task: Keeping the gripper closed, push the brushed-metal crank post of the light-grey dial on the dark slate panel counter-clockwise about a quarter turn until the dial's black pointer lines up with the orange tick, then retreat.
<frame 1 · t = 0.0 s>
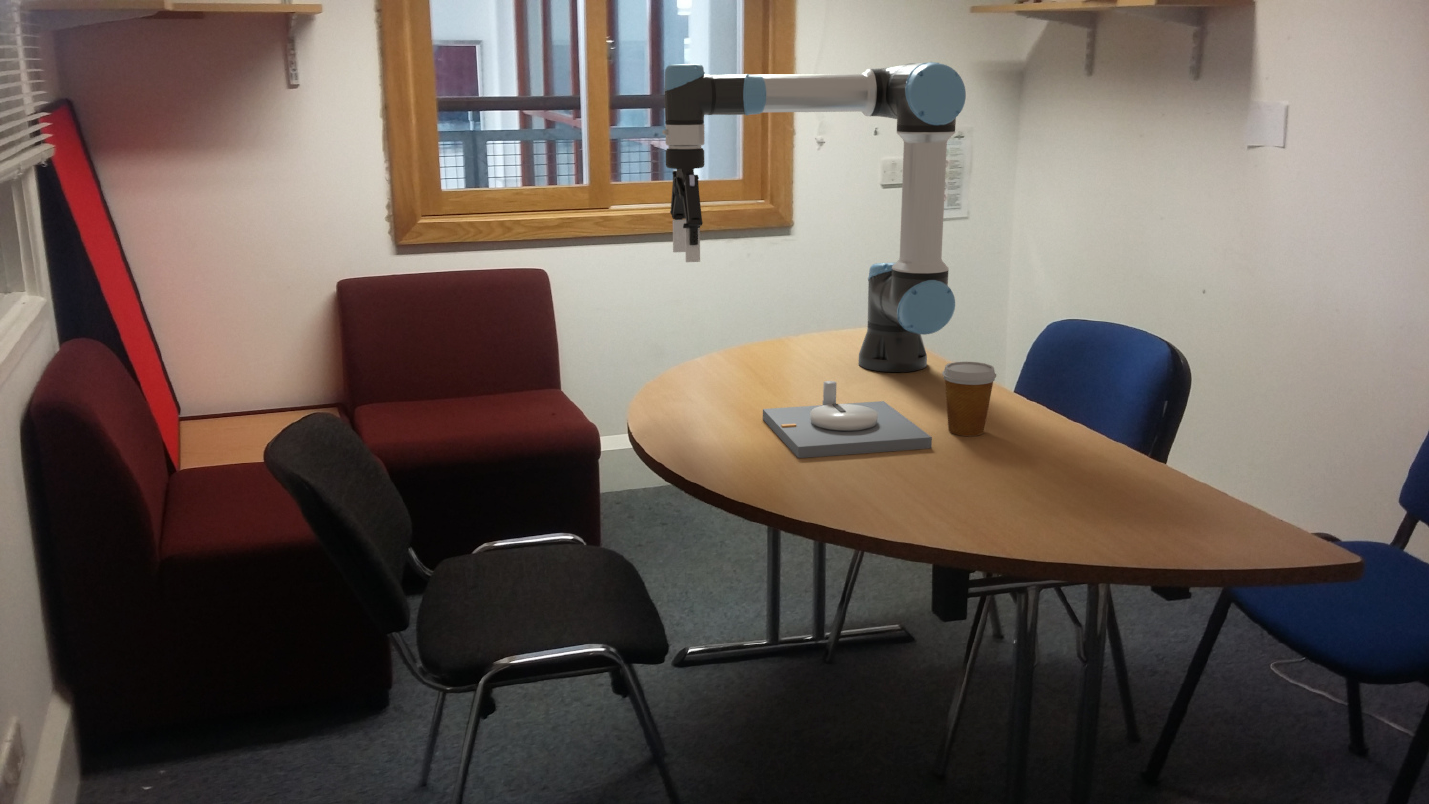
hand: (686, 256, 230), 28 cm above the table, fingers open, 13 cm apart
panel: (843, 433, 211), on the table
dial: (840, 404, 211), point 5 cm above the table, hinge at 0.0°
disposable coffee cup: (966, 432, 211), on the table
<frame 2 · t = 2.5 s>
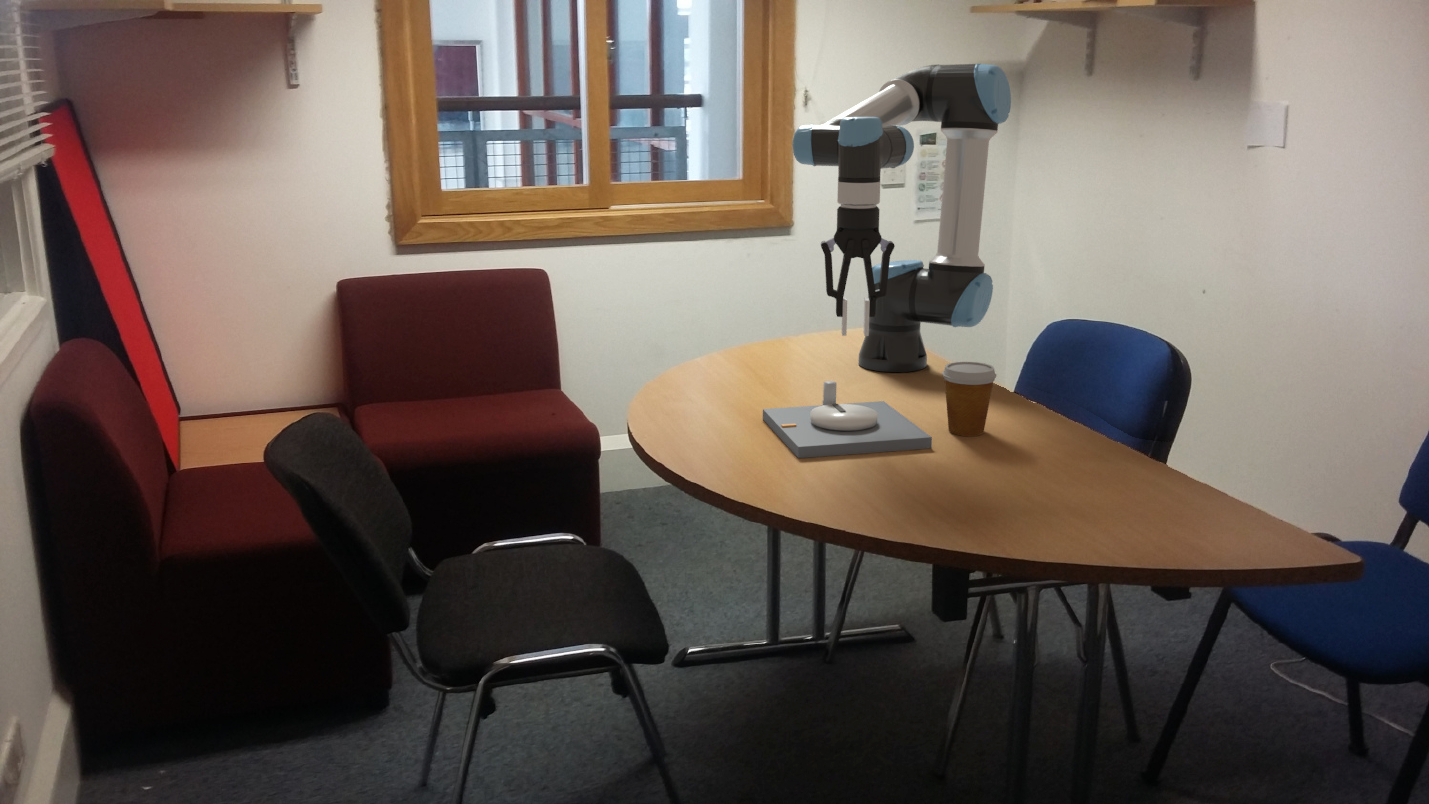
hand: (854, 333, 214), 17 cm above the table, fingers open, 3 cm apart
nothing on the table moved.
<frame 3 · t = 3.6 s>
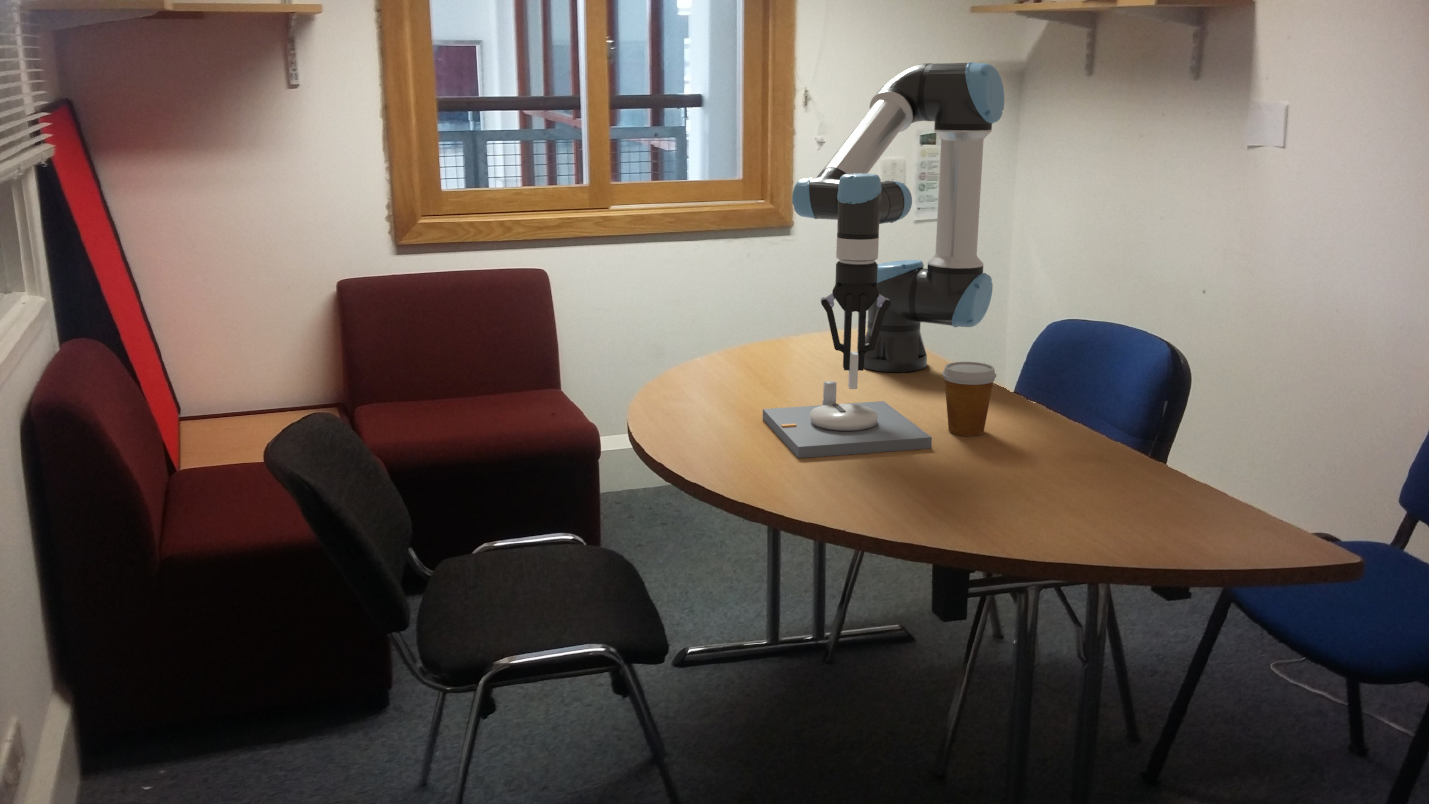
hand: (852, 387, 216), 6 cm above the table, fingers closed
nothing on the table moved.
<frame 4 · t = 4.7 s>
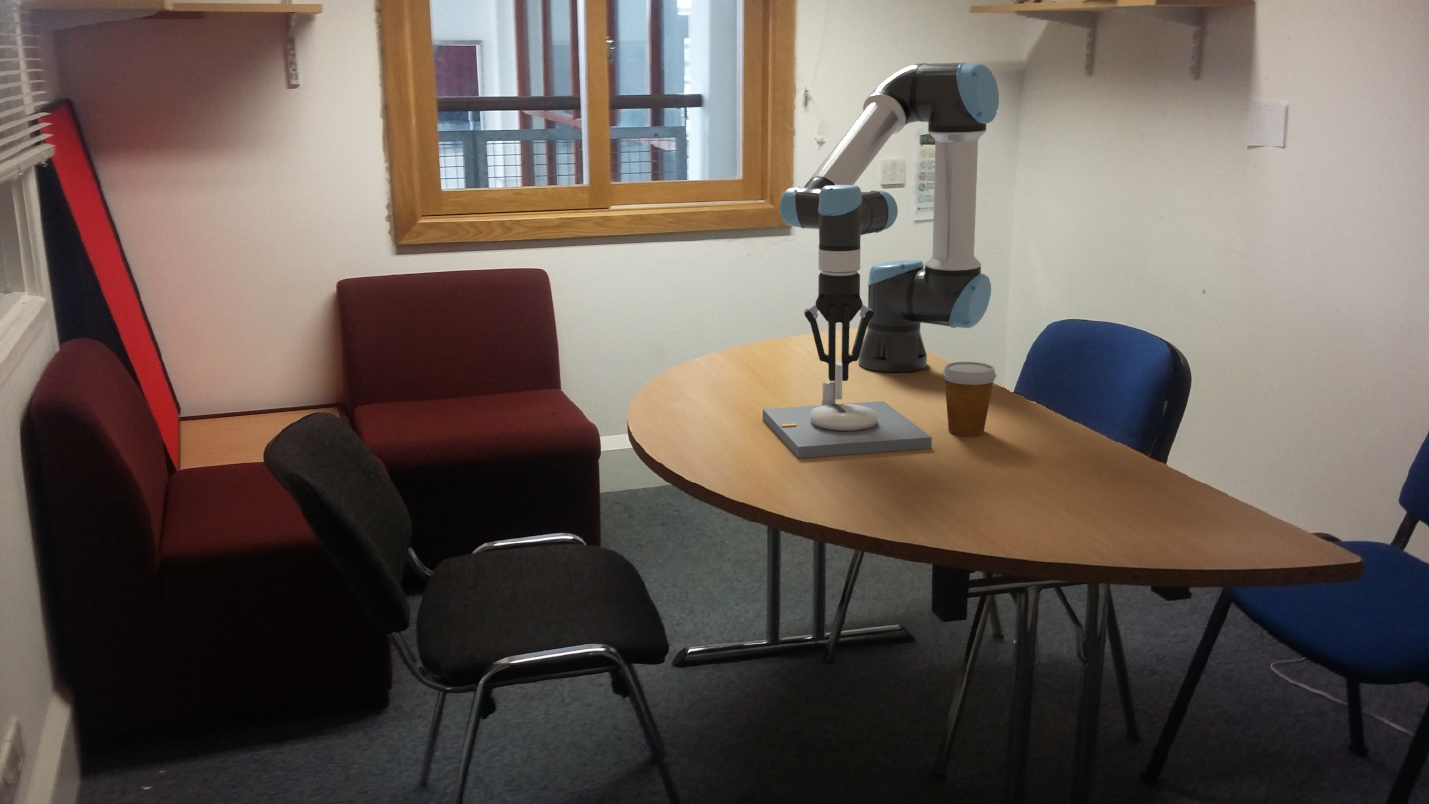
hand: (838, 397, 217), 4 cm above the table, fingers closed
dial: (840, 404, 211), point 5 cm above the table, hinge at 1.0°, touching gripper
everything else where it was.
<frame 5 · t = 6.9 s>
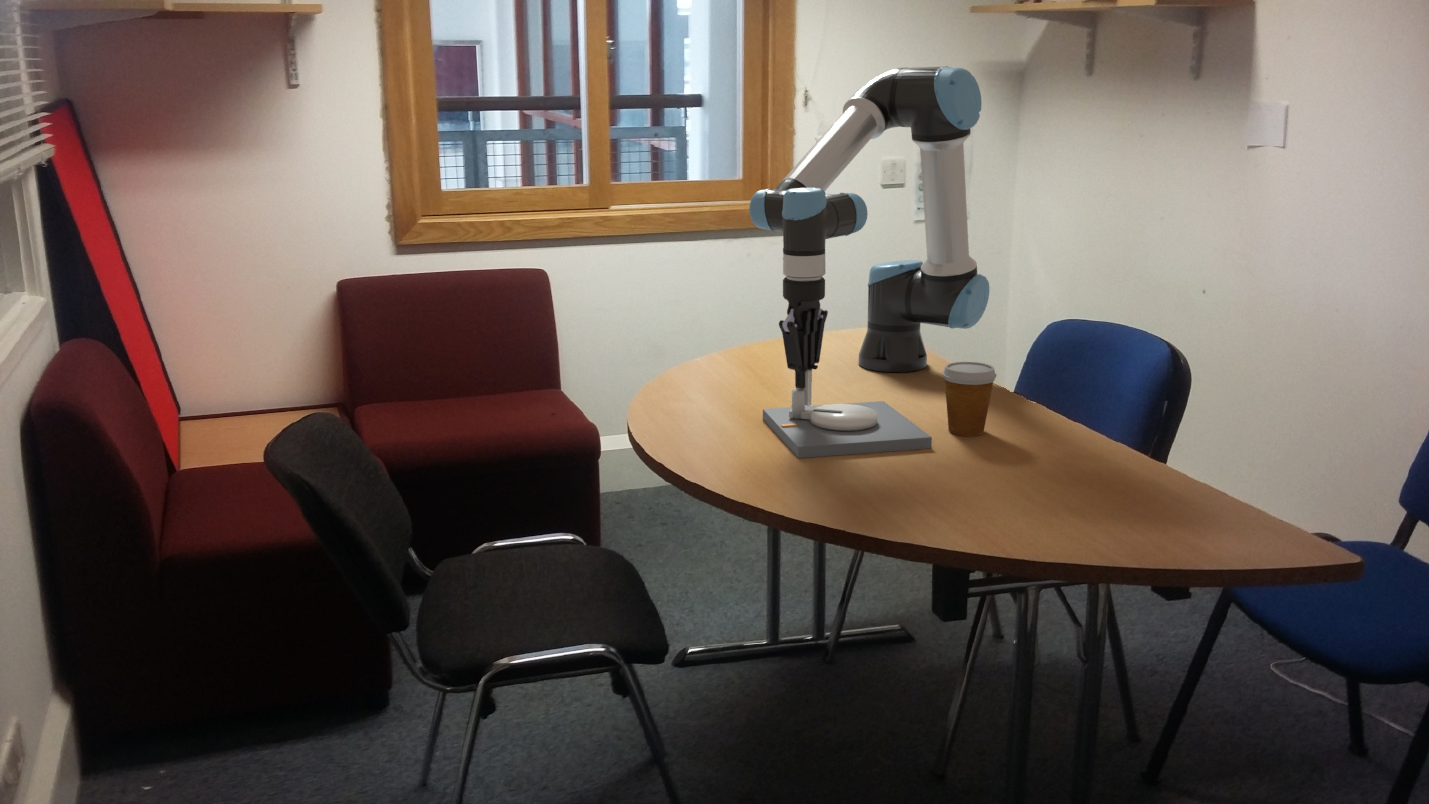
hand: (803, 403, 213), 4 cm above the table, fingers closed
dial: (833, 406, 210), point 5 cm above the table, hinge at 59.1°, touching gripper
everything else where it was.
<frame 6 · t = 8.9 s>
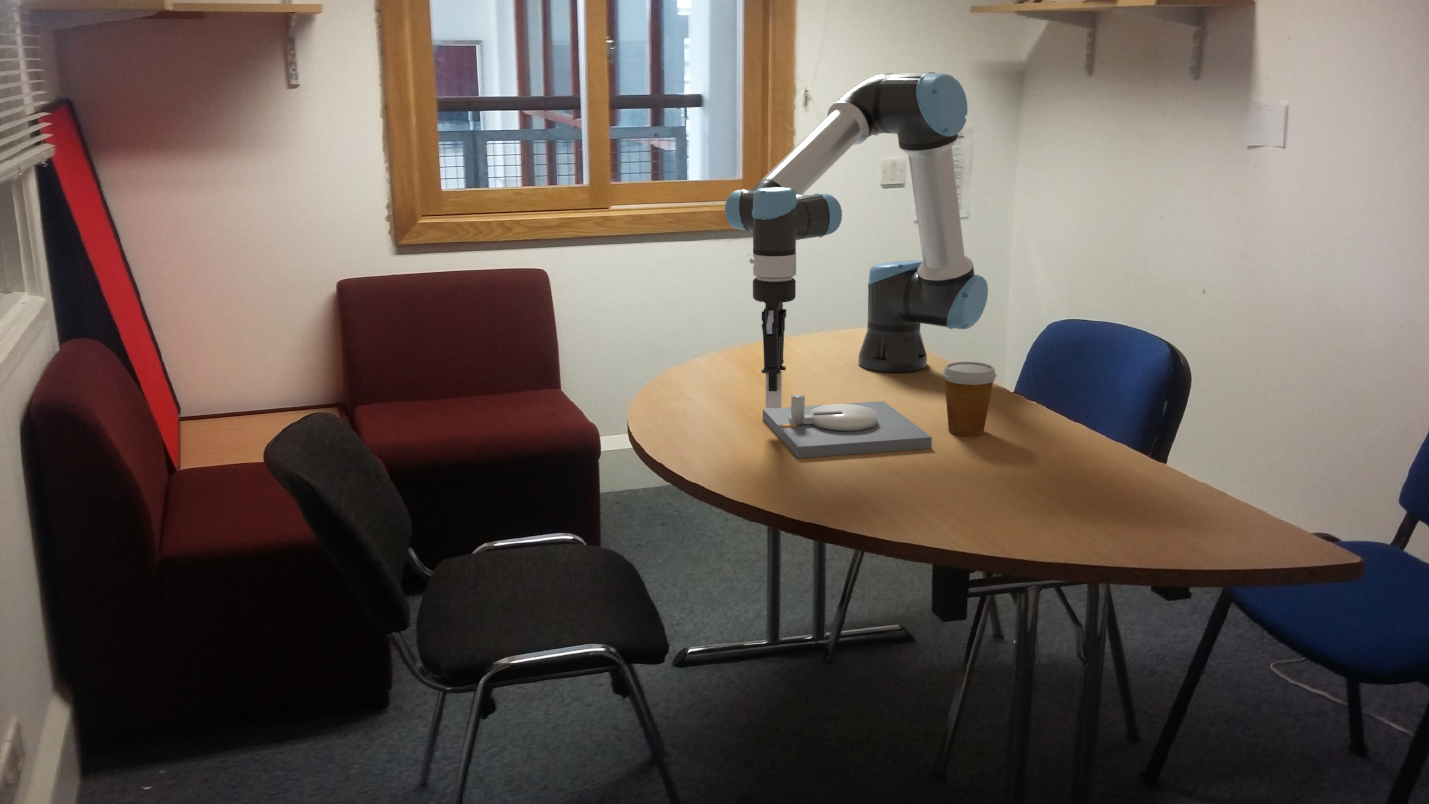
hand: (773, 406, 210), 5 cm above the table, fingers closed
dial: (833, 408, 209), point 5 cm above the table, hinge at 85.9°, touching panel
everything else where it was.
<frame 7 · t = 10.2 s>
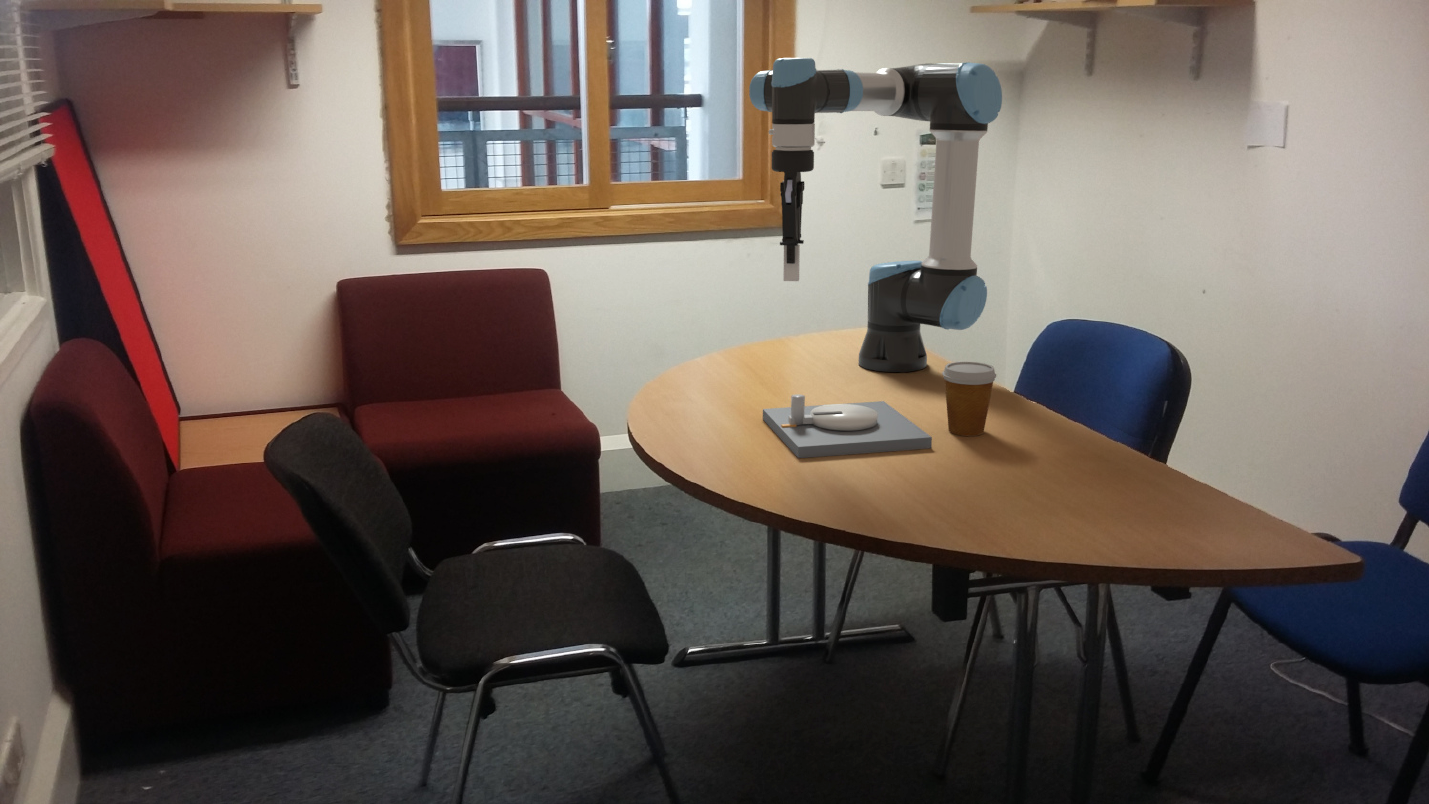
hand: (791, 280, 212), 26 cm above the table, fingers closed
nothing on the table moved.
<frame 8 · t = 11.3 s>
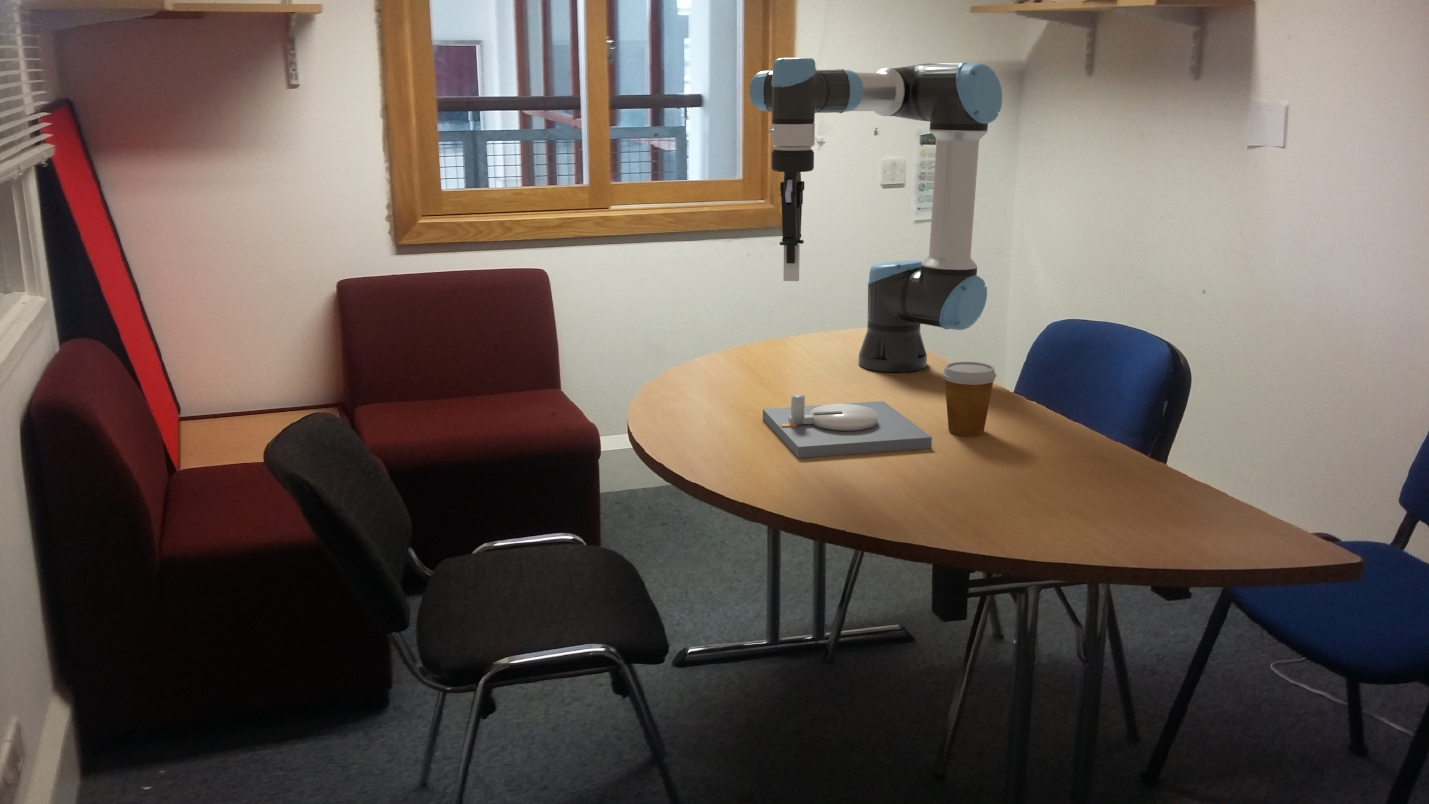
hand: (791, 280, 212), 26 cm above the table, fingers closed
nothing on the table moved.
at the end: dial at +86° (first picture: +0°) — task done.
